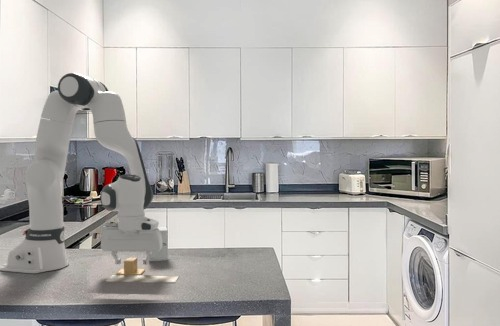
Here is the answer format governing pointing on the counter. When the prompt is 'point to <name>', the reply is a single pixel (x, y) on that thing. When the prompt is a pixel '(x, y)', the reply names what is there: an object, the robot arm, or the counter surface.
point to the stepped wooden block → (130, 268)
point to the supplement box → (164, 250)
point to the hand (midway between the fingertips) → (132, 264)
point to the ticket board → (143, 278)
